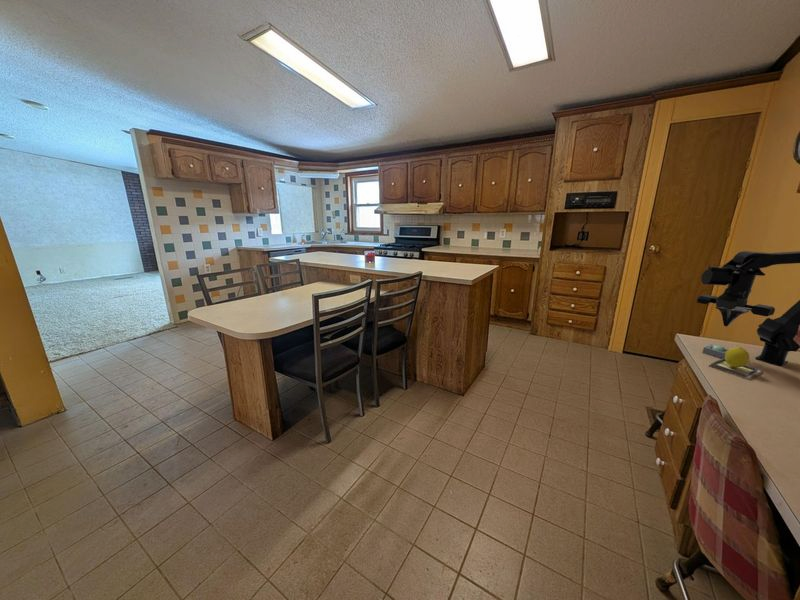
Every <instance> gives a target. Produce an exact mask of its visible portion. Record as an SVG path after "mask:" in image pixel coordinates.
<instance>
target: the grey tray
mask: <svg viewBox="0 0 800 600" xmlns="http://www.w3.org/2000/svg"><path fill="white" fill-rule="evenodd" d="M708 367H710V368H713V369H716V370H719V371H721V372H724V373H726V374H731V375H733V376H736V377H739V378H742V379H745V380H748V381H750V380H752V379H753V378H756V377H757V376H759V375H762V374H763V373H764V371H762V370H759V369H758V368H755V367H752V366H749V365H747V364H746V365H745V366H743V367H736V368H732V367H731V366H730V365H729V364H727V363H726V361H725V359H721V358H719V359H718V360H716V361H714V362H711V364H709V365H708Z"/></svg>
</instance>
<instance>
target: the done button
mask: <svg viewBox="0 0 800 600" xmlns="http://www.w3.org/2000/svg"><path fill="white" fill-rule="evenodd" d="M712 345H713V348H712V349H715V350H718V351H721V352H723V351H724V348H725V347H724V346H722V345H717V344H712Z"/></svg>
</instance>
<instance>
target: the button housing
mask: <svg viewBox="0 0 800 600" xmlns="http://www.w3.org/2000/svg"><path fill="white" fill-rule="evenodd" d="M713 345H714V344H709V345H707V346H704V347H703V350H702V354H705V355H708V356H711V357H715V358H718V359H725V354H726V352H727V351H728V350H729V349H730V348H729V349H728V348H725V347H724V351H723V352H721V351H718V350H715V349H712V348H713Z"/></svg>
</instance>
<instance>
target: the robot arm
mask: <svg viewBox="0 0 800 600" xmlns="http://www.w3.org/2000/svg"><path fill="white" fill-rule="evenodd" d="M791 264H800V250H797V251H782V252H780V251H779V252H764V251H763V252H762V251H761V252H760V251H749V250H745V251H744V250H743V251H738V252H737V253H736V254H735V255H734V256H733V258H732V259H731V260H729V261H727V262H726V263H725V264H724V265H722V266H720V267H719V266H711V265H709V266H708V268H707V269H706V270H704V272H703V273H702V274H701V277H700V278H701V283H702V284H703V285H708V286H723V287H724V286H727V288H726V287H725V290H724V292H723V293H722V294H720V295H719V296H717V295H716V296H715V295H712V294H711V295H710V294H703V295H702V294H701V295H698V297H697V298H696V301H695V302H696V303H697V304H701V305H702V304H703V305H708V304H710V303H711V304H714V305H715V307H714V308H715V309H716V310H718V311H720V313H721V318H722V321H723V322H722V323H723V327H729V326H730V325H731V324H732V323H733V322H734V321H735V320H736V319H737V318H738V317H740V315H744V314H748V313H749V311H750V312H751V313H752V314H753V315H757V316H761V317H767V318H765V319H764V321H763V322H762V323H760V324H758V325H757V327H758V328H757V329H756V333H757V335H758V337H759V341H761V342H763V343H764V345H763V348H762V350H761V352H760V354H759V355H758V356H755V358H754V359H756V360H758V361H761V362H766V363H769V364H772V365H775V366H779V367H782V366H785V365H786V364H788V363H789V361H788V360H786V358H787V356H788V354H789V353H790V352H798V350H799V349H800V345H799V344H798V342H797V341H796V340H794V339H795V337H797V335H798V333H799V328H800V299H799V300H797V302H795V304H793V305H792V306H791V307H790V308H789V309H787V310H786V311H785V312H784V313H782V315H781V316H779V317H776V318H770V317H771V316H773V315H774V314H775V311H776V308H775V307H774V306H772V305H766V304H761V303H759V304H758V303H757V304H756V305H752V304H748V300H749V297H750V293H752V287H753V285H754V282H755V279H756V276H759V277H760V276H762V277H763V276H765V275H766V273H764V272H763V271H762V270H761V269H765V268H769V267H771V266H775V265H776V266H777V265H791Z"/></svg>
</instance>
